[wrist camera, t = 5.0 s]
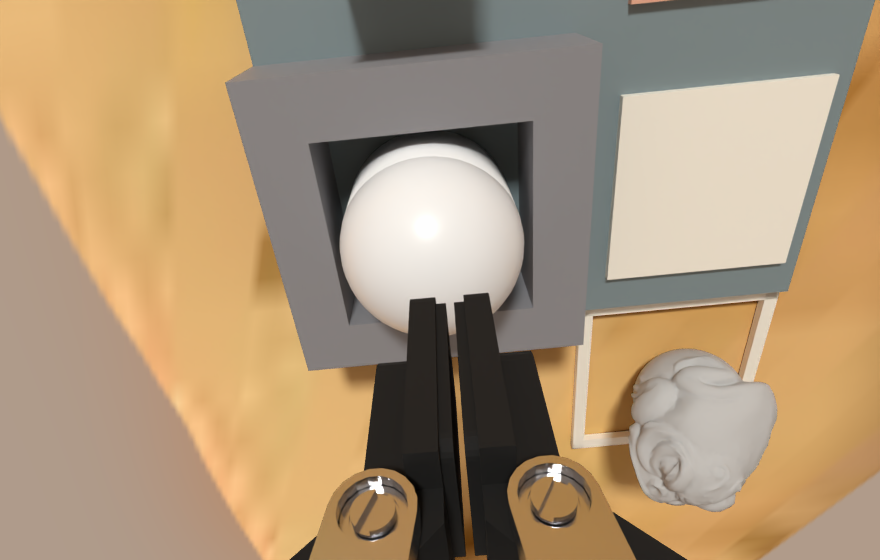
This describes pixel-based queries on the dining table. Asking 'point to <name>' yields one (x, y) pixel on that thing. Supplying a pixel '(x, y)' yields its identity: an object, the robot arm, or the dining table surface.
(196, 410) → the dining table surface
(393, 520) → the robot arm
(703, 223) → the game board
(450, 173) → the dome button
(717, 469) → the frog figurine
